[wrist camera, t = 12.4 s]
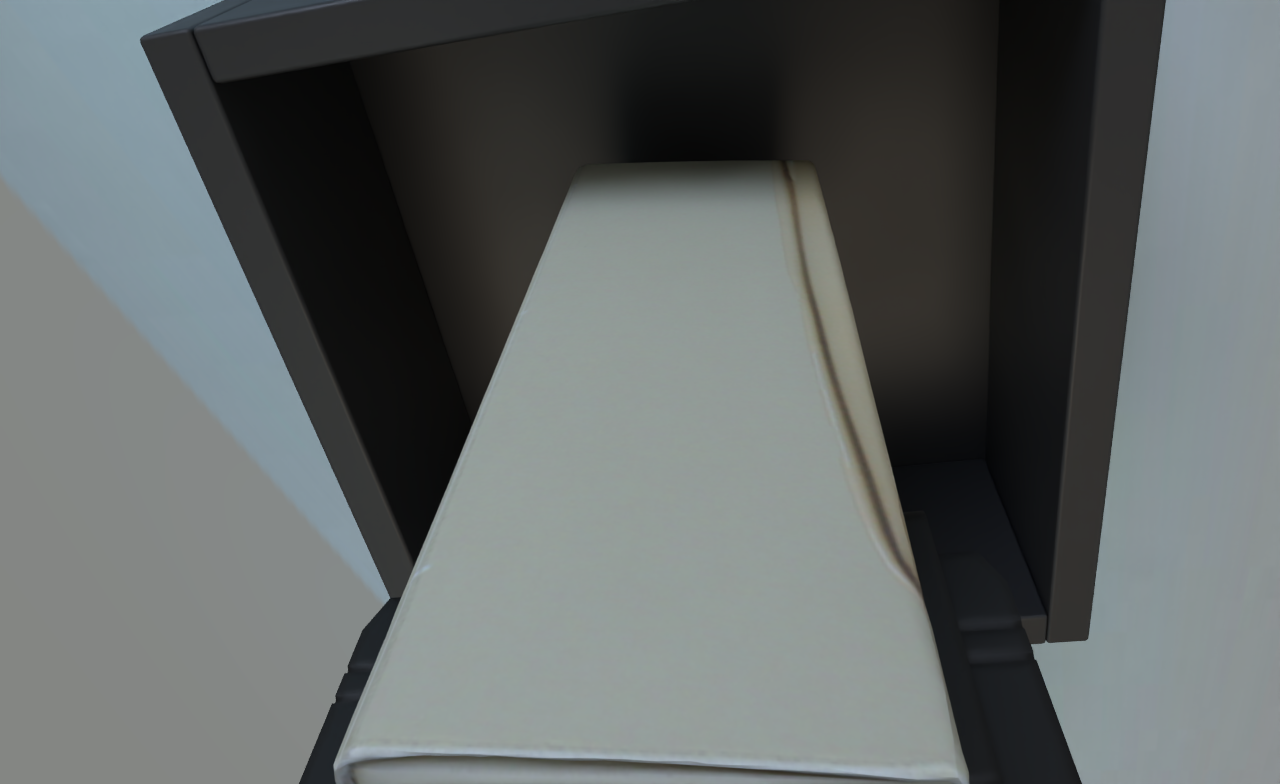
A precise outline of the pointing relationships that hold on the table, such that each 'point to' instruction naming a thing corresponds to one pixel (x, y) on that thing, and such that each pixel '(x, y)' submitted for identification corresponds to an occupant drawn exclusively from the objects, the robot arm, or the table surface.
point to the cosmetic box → (669, 521)
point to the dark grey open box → (697, 131)
